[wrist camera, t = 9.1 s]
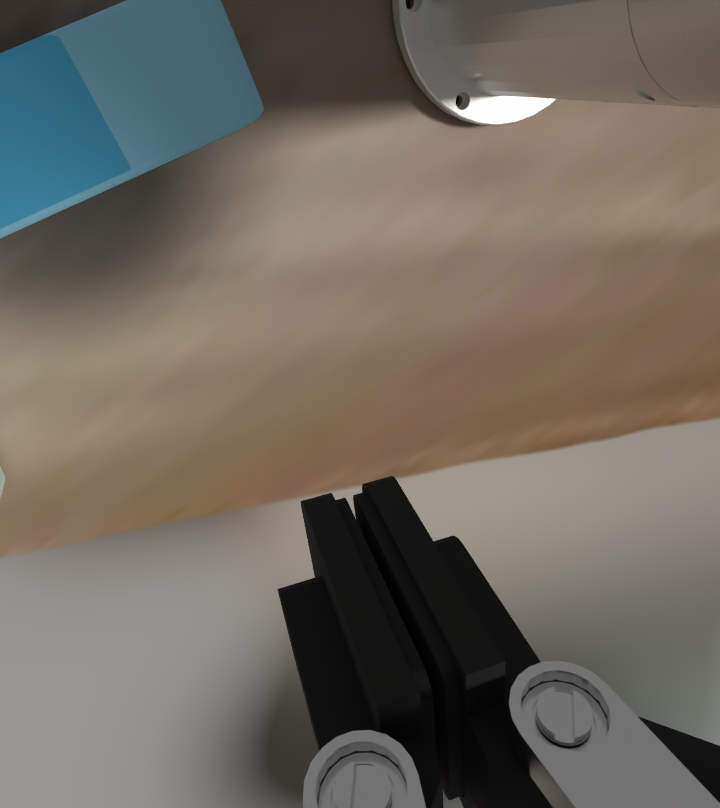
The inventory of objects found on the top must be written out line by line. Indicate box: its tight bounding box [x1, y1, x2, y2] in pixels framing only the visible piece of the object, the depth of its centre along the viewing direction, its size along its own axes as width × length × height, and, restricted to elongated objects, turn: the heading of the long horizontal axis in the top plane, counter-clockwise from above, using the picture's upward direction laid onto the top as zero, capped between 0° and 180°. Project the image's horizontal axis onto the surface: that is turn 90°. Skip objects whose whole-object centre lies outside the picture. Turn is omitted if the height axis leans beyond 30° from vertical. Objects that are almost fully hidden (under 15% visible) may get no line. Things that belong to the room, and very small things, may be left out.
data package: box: [0, 0, 264, 239], centre depth 24 cm, size 12×4×12 cm, turn 110°
